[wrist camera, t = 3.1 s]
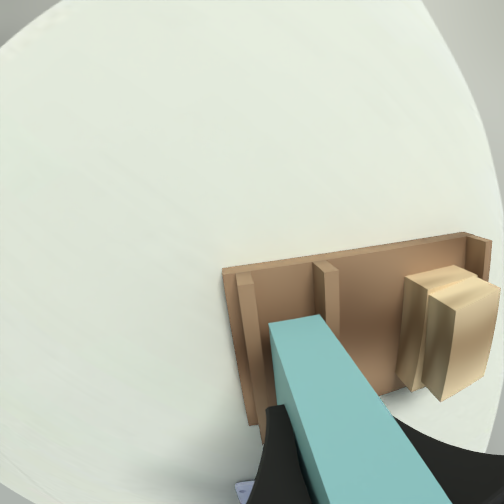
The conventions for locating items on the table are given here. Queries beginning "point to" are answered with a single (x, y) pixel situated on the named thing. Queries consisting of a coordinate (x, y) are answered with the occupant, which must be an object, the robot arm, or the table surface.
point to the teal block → (343, 423)
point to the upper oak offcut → (459, 335)
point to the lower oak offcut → (420, 320)
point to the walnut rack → (336, 305)
